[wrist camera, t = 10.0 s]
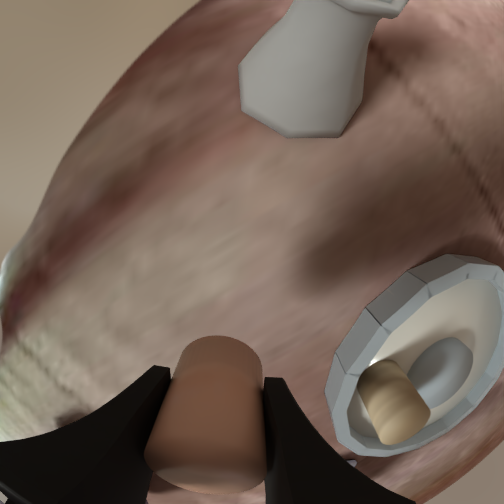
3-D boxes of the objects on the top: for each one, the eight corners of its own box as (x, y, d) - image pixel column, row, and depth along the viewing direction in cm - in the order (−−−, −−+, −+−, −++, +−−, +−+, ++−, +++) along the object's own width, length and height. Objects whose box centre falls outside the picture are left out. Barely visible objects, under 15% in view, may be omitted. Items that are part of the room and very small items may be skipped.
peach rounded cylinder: (258, 401, 11) (260, 497, 6) (181, 394, 11) (154, 484, 6) (266, 338, 10) (274, 442, 5) (177, 330, 10) (132, 424, 5)
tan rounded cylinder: (350, 398, 17) (371, 448, 12) (364, 360, 16) (393, 411, 11) (390, 393, 17) (416, 438, 12) (405, 358, 16) (439, 401, 11)
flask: (368, 56, 13) (456, -29, 3) (348, 158, 14) (473, 131, 5) (253, 22, 12) (255, -100, 3) (221, 123, 14) (171, 28, 4)
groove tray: (456, 418, 20) (465, 431, 17) (305, 447, 19) (309, 468, 17) (519, 262, 16) (537, 269, 13) (356, 244, 15) (373, 254, 13)
